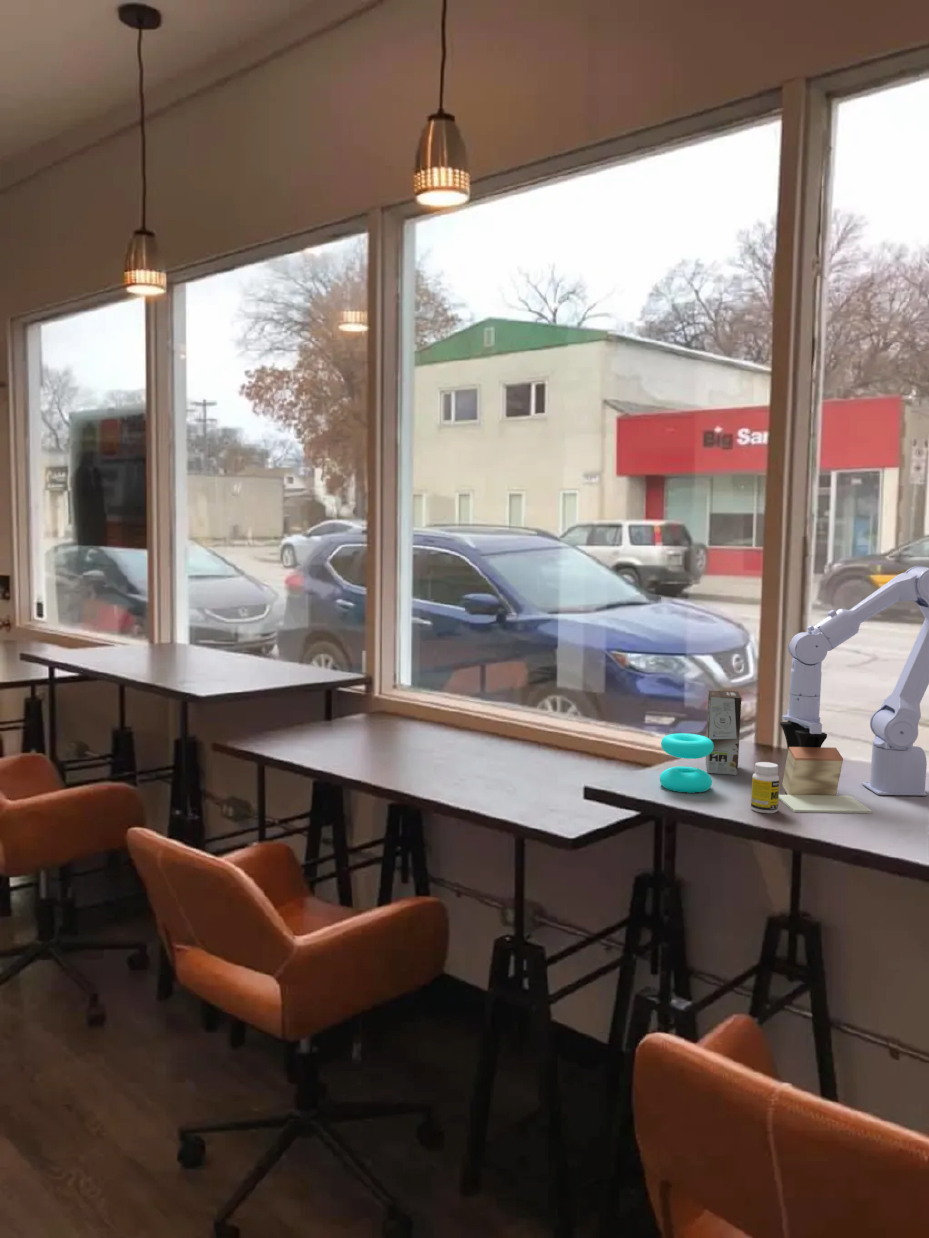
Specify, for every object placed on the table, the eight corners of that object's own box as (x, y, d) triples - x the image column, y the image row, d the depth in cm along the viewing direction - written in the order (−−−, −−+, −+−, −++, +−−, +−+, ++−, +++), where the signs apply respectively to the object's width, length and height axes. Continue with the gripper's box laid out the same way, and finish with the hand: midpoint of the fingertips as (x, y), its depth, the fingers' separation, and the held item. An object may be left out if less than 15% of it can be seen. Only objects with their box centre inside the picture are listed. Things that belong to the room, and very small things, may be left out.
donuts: (656, 731, 197) (706, 732, 198) (654, 780, 198) (704, 781, 198) (667, 742, 187) (719, 743, 188) (665, 794, 188) (717, 795, 189)
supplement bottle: (773, 815, 176) (776, 769, 175) (747, 810, 178) (749, 765, 178) (780, 809, 180) (783, 763, 179) (754, 804, 183) (757, 759, 182)
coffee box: (738, 775, 203) (742, 697, 202) (706, 773, 205) (709, 696, 203) (735, 765, 212) (739, 690, 211) (704, 763, 214) (707, 689, 212)
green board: (849, 797, 188) (849, 795, 188) (871, 813, 178) (871, 810, 178) (776, 796, 188) (776, 794, 188) (794, 812, 178) (794, 809, 178)
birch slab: (828, 785, 192) (835, 747, 189) (835, 797, 189) (843, 758, 185) (782, 784, 192) (788, 746, 189) (788, 796, 189) (795, 757, 185)
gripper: (772, 687, 201) (769, 753, 202) (796, 700, 186) (793, 771, 188) (807, 688, 201) (804, 753, 202) (834, 701, 186) (830, 772, 188)
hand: (801, 762), depth 195 cm, fingers open, 7 cm apart
